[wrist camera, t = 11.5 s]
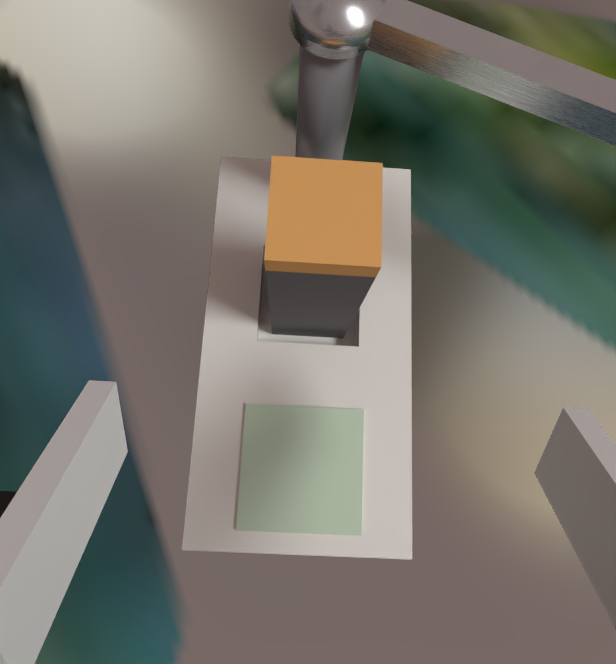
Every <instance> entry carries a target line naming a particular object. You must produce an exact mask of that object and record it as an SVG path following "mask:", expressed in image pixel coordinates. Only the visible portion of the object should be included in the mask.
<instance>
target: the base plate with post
mask: <svg viewBox="0 0 616 664" xmlns="http://www.w3.org/2000/svg"><path fill="white" fill-rule="evenodd" d="M363 54H364V52H363V53H361V54H359V55H357V56H355V57H352V58H348V59H327V58H323V57H319V56H317V55H314V54H312V53H310V52H309V51H307V50H306V49H305V48H303V47H302V46H301V45H300V58H299V83H298V108H297V133H296V157H301V158H316V159H330V160H342V158H343V153H344V149H345V144H346V139H347V134H348V129H349V124H350V119H351V114H352V109H353V104H354V99H355V94H356V89H357V84H358V79H359V74H360V69H361V64H362V59H363ZM270 174H271V160H264V159H249V158H235V157H221V162H220V172H219V182H218V192H217V202H216V212H215V222H214V232H213V242H212V252H211V262H210V272H209V282H208V292H207V303H206V312H205V322H204V332H203V342H202V352H201V361H200V371H199V381H198V391H197V401H196V412H195V422H194V432H193V442H192V452H191V462H190V471H189V481H188V492H187V501H186V511H185V521H184V532H183V541H182V550H191V551H216V552H240V553H266V554H267V553H268V554H291V555H316V556H341V557H365V558H391V559H412V409H411V407H412V404H411V403H412V401H411V400H412V395H411V394H412V393H411V391H412V390H411V389H412V388H411V170H409V169H395V168H383V177H382V264H381V269H380V271H379V273H378V275H377V276H376V278H375V280H374V282H373V284H372V286H371V288H370V289H369V291H368V293H367V295H366V297H365V299H364V301H363V302H362V304H361V306H360V308H359V310H358V312H357V314H356V316H355V317H354V319H353V321H352V323H351V325H350V327H349V329H348V330H347V332H346V334H345V336H344V338H329V337H311V336H293V335H275V334H272V330H271V320H270V311H269V301H268V291H267V282H266V272H265V262H264V257H265V243H266V229H267V215H268V201H269V187H270Z"/></svg>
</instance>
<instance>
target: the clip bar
mask: <svg viewBox="0 0 616 664" xmlns="http://www.w3.org/2000/svg"><path fill="white" fill-rule="evenodd" d="M289 24H290V29H291V32H292V34H293V36H294V38H295V39H296V40H297V42H298V43H299V44H300V45H301V46H302V47H303V48H305V49H306V50H307V51H309V52H310V53H312V54H314V55H317V56H319V57H323V58H327V59H348V58H352V57H355V56H357V55H359V54H361V53H363V52H365V51H366V50H367V49H368V50H371V51H373V52H376V53H378V54H381V55H383V56H386V57H389V58H391V59H394V60H396V61H399V62H401V63H404V64H407V65H409V66H412V67H414V68H417V69H419V70H422V71H425V72H427V73H430V74H432V75H435V76H437V77H440V78H442V79H445V80H448V81H450V82H453V83H455V84H458V85H460V86H463V87H466V88H468V89H471V90H473V91H476V92H478V93H481V94H484V95H486V96H489V97H491V98H494V99H496V100H499V101H501V102H504V103H507V104H509V105H512V106H514V107H517V108H519V109H522V110H525V111H527V112H530V113H532V114H535V115H537V116H540V117H543V118H545V119H548V120H550V121H553V122H555V123H558V124H561V125H563V126H566V127H568V128H571V129H573V130H576V131H578V132H581V133H584V134H586V135H589V136H591V137H594V138H596V139H599V140H602V141H604V142H607V143H609V144H612V145H614V146H616V80H614V79H611V78H609V77H606V76H603V75H601V74H598V73H596V72H593V71H590V70H588V69H585V68H583V67H580V66H577V65H575V64H572V63H569V62H567V61H564V60H562V59H559V58H556V57H554V56H551V55H549V54H546V53H543V52H541V51H538V50H535V49H533V48H530V47H528V46H525V45H522V44H520V43H517V42H515V41H512V40H509V39H507V38H504V37H502V36H499V35H496V34H494V33H491V32H488V31H486V30H483V29H481V28H478V27H475V26H473V25H470V24H468V23H465V22H462V21H460V20H457V19H455V18H452V17H449V16H447V15H444V14H441V13H439V12H436V11H434V10H431V9H428V8H426V7H423V6H421V5H418V4H415V3H413V2H410V1H408V0H289Z"/></svg>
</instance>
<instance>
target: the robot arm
mask: <svg viewBox="0 0 616 664" xmlns="http://www.w3.org/2000/svg"><path fill="white" fill-rule="evenodd" d="M127 452H128V450H127V444H126V438H125V432H124V426H123V420H122V414H121V409H120V403H119V397H118V391H117V385H116V382H108V381H90V380H89V381H88V383H87V384H86V386H85V387H84V389H83V391H82V392H81V394H80V395H79V397H78V398H77V400H76V401H75V403H74V405H73V406H72V408H71V409H70V411H69V412H68V414H67V415H66V417H65V419H64V420H63V422H62V423H61V425H60V426H59V428H58V429H57V431H56V432H55V434H54V436H53V437H52V439H51V440H50V442H49V443H48V445H47V446H46V448H45V450H44V451H43V453H42V454H41V456H40V457H39V459H38V460H37V462H36V464H35V465H34V467H33V468H32V470H31V471H30V473H29V474H28V476H27V477H26V479H25V481H24V482H23V484H22V485H21V487H20V488H19V490H18V491H17V492H9V491H0V664H34V663H35V661H36V659H37V657H38V654H39V652H40V650H41V648H42V645H43V643H44V641H45V638H46V636H47V634H48V632H49V629H50V627H51V625H52V623H53V620H54V618H55V616H56V613H57V611H58V609H59V607H60V604H61V602H62V600H63V598H64V595H65V593H66V591H67V588H68V586H69V584H70V582H71V579H72V577H73V575H74V573H75V570H76V568H77V566H78V563H79V561H80V559H81V557H82V554H83V552H84V550H85V548H86V545H87V543H88V541H89V538H90V536H91V534H92V532H93V529H94V527H95V525H96V523H97V520H98V518H99V516H100V513H101V511H102V509H103V507H104V504H105V502H106V500H107V498H108V495H109V493H110V491H111V488H112V486H113V484H114V482H115V479H116V477H117V475H118V473H119V470H120V468H121V466H122V463H123V461H124V459H125V457H126V454H127ZM535 475H536V477H537V479H538V481H539V483H540V484H541V487H542V488H543V490H544V492H545V494H546V496H547V498H548V500H549V502H550V504H551V506H552V508H553V510H554V512H555V514H556V515H557V517H558V519H559V521H560V523H561V525H562V527H563V529H564V531H565V533H566V535H567V537H568V539H569V540H570V542H571V544H572V546H573V548H574V550H575V552H576V554H577V556H578V558H579V560H580V562H581V564H582V565H583V568H584V569H585V572H586V574H587V575H588V577H589V579H590V581H591V583H592V585H593V587H594V589H595V591H596V593H597V595H598V597H599V599H600V601H601V602H602V604H603V606H604V608H605V610H606V612H607V614H608V616H609V618H610V620H611V622H612V624H613V626H614V628H615V629H616V445H615V443H614V442H613V441H612V440H611V438H610V437H609V435H608V434H607V433H606V431H605V430H604V429H603V427H602V426H601V425H600V423H599V422H598V421H597V419H596V418H595V417H594V416H593V414H592V413H591V411H590V410H589V409H581V408H563V409H562V412H561V414H560V416H559V418H558V421H557V423H556V425H555V427H554V430H553V432H552V434H551V437H550V439H549V441H548V443H547V446H546V448H545V450H544V452H543V455H542V457H541V459H540V462H539V464H538V466H537V468H536V471H535Z"/></svg>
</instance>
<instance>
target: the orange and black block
mask: <svg viewBox="0 0 616 664" xmlns="http://www.w3.org/2000/svg"><path fill="white" fill-rule="evenodd" d="M382 177H383V163H373V162H359V161H345V160H330V159H316V158H301V157H287V156H286V157H285V156H273V155H272V160H271V174H270V187H269V201H268V215H267V229H266V243H265V257H264V262H265V272H266V282H267V291H268V301H269V311H270V320H271V330H272V334H275V335H293V336H311V337H329V338H344V336H345V334H346V332H347V330H348V329H349V327H350V325H351V323H352V321H353V319H354V317H355V316H356V314H357V312H358V310H359V308H360V306H361V304H362V302H363V301H364V299H365V297H366V295H367V293H368V291H369V289H370V288H371V286H372V284H373V282H374V280H375V278H376V276H377V275H378V273H379V271H380V269H381V264H382Z"/></svg>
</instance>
